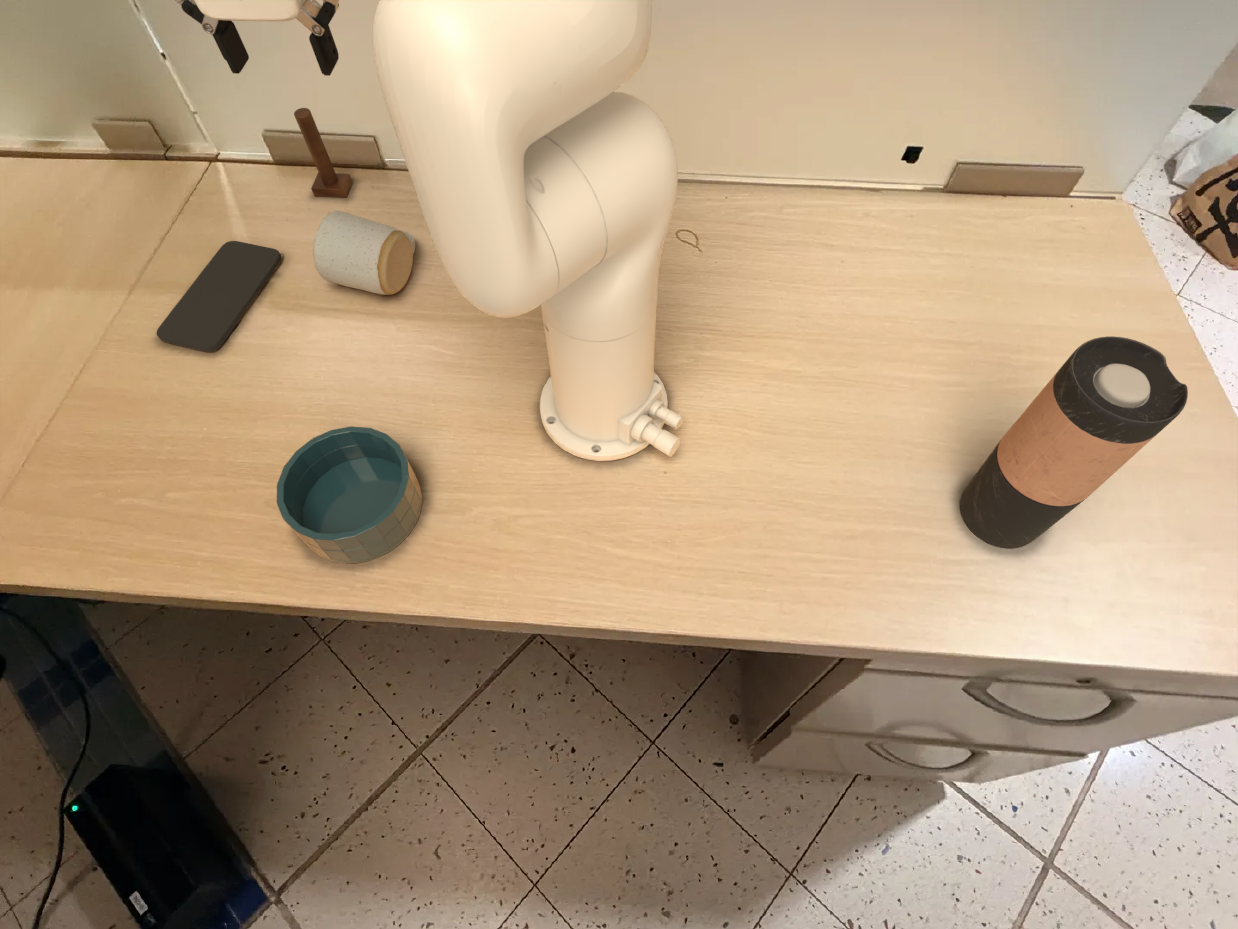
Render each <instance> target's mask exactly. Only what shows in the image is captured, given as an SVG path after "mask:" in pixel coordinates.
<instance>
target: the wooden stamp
mask: <svg viewBox="0 0 1238 929" xmlns="http://www.w3.org/2000/svg"><path fill="white" fill-rule="evenodd" d="M293 116H294V118H295V121H296V123H297V125H298V127H299V130H300V132H301V134H302V137H303V140H304V142H305V144H306V146H307V148H308V151H309V153H310V156H311V158H312V160H313V163H314V165H315V167H316V170H317V174H316V177H315V178H314V181H313V183H312V185H311V188H310V190H311V191H312V193H313V196H314V197H319V198H340V199H341V198H342V199H343V198H344V199H347V197H348V194H349V192H350V190H351V187H352V185H353V179H352V176H351V174H350V173H343V172H342V173H341V172H336V171H335V168H334V166H333V162H332V161H331V159H330V156H329V154H328V151H327V148H326V146H325V144H324V141H323V139H322V136H321V134H320V131H319V129H318V126H317V124H316V121H315V119H314V116H313V114H312V112H311V109H309V108H308V107H300V108H298V109H296V110H294V112H293Z"/></svg>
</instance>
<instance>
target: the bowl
mask: <svg viewBox="0 0 1238 929" xmlns="http://www.w3.org/2000/svg"><path fill="white" fill-rule="evenodd" d="M276 505H277V507H278V510H279V513H280V515H281V519H282V520H283V521H284V522H285V523H286V524H287V525H288V526H289V527H290V529H292V531H293V532H294V533H295V534H296V535H297V536H298V537H299V538H300V539H301V541H302V542H303V543H304V544H306V546H307V547H308V548H309V549H310V550H311V551H312V552H313V553H315V554H316V555H318V556H319V557H321V558H323V559H325V560H327V561H330V562H334V563H339V564H360V563H365V562H370V561H372V560H375V559H378V558H379V557H383V556H384V555H386V554H388V553H390V552H391V551H393V550H394V549H395V548H396V547H398V546H399V545H401V544H402V542H404V541H405V540H406V538H407V537H408V536H409V535H410V534H411V532H412V531H413V530H414V528H415V526H416V524H417V522H418V520H419V518H420V514H421V511H422V505H423V495H422V488H421V485H420V482H419V479H418V478H417V476H416V474H415V472H414V470H413V467H412V466H411V463H410V462H409V460H408V458H407V456H406V453H405V452H404V449H403V448H402V446H401V445H400V444H399V443H398V442H397V441H396V440H395V439H393V437H391V436H390V435H388V434H387V433H385V432H383V431H380V430H377V429H374V428H372V427H365V426H344V427H340V428H334V429H329V430H328V431H326V432H324V433H321V434H319V435H317V436H314V437H312V438H311V439H309V441H307V442H306V443H305V444H303V445H302V446H301V447H299V448H298V449H297V450H296V451H295V452H294V453H293V455H292V456H291V457H290V458H289V459H288V460H287V462H286V463H285V465H284V466H283V467H282V470H281V473H280V475H279V478H278V481H277V483H276Z"/></svg>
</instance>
